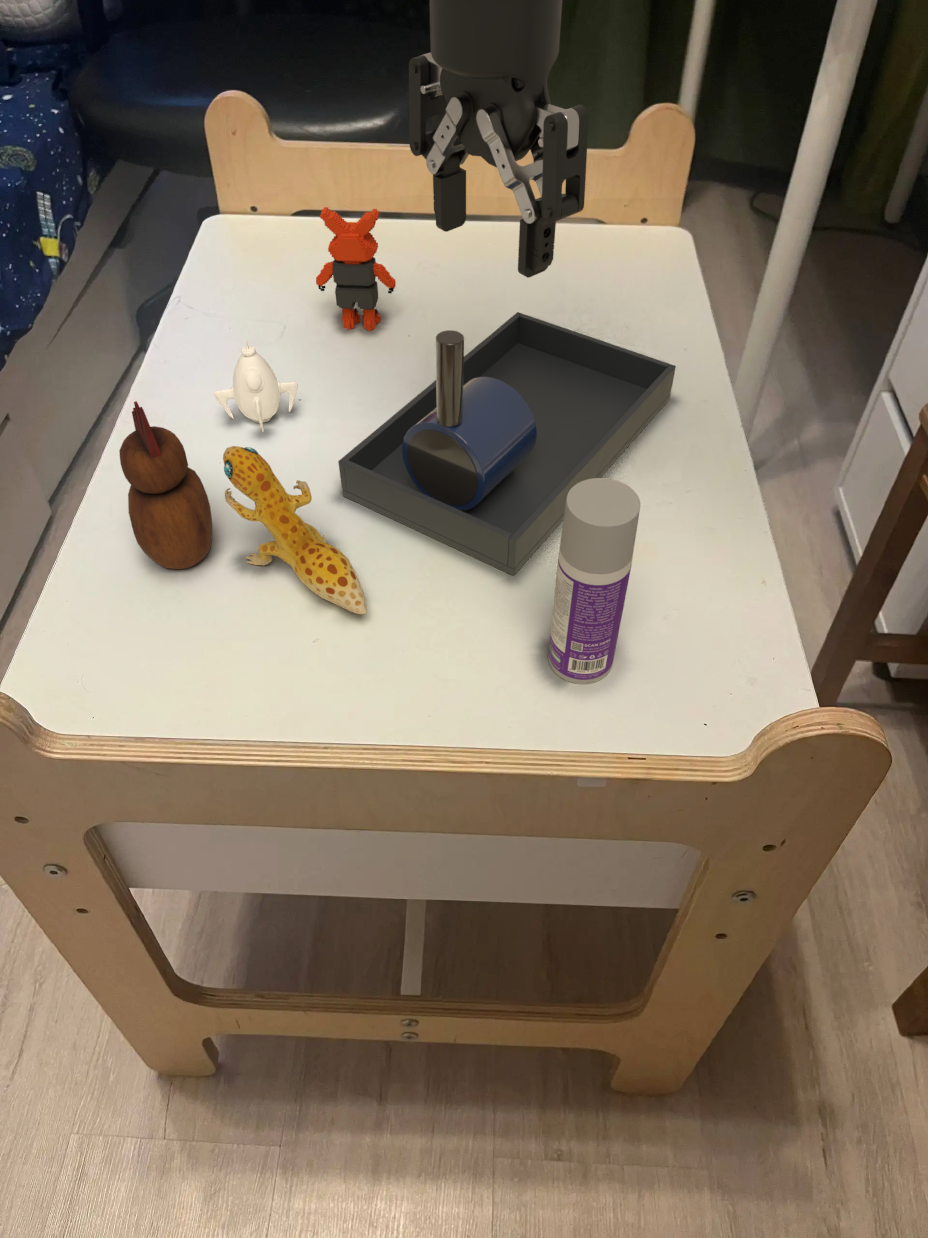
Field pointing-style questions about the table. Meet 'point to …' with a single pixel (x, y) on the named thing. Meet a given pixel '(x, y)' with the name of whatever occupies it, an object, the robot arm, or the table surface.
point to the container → (592, 578)
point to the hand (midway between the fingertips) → (490, 248)
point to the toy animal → (354, 268)
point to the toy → (290, 530)
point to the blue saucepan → (467, 432)
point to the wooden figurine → (164, 496)
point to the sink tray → (563, 453)
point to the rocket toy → (255, 388)
